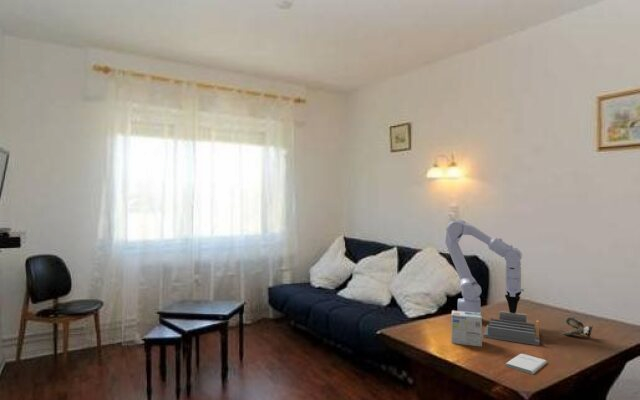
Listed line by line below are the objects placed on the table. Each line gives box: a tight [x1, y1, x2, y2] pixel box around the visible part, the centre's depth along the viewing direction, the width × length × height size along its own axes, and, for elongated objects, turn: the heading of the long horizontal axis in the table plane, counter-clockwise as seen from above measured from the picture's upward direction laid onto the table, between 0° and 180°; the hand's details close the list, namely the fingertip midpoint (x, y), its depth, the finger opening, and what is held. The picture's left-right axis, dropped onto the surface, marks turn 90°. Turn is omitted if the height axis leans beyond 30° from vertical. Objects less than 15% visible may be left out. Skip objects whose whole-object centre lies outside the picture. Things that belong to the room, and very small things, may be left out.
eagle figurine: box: [564, 317, 594, 339], centre depth 158 cm, size 8×7×9 cm
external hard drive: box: [504, 353, 547, 375], centre depth 131 cm, size 2×8×12 cm
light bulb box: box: [450, 309, 483, 347], centre depth 151 cm, size 11×7×11 cm, turn 71°
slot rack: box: [482, 317, 540, 346], centre depth 158 cm, size 19×14×7 cm
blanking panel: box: [499, 310, 527, 323], centre depth 169 cm, size 10×2×6 cm, turn 62°
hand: (513, 310), depth 169 cm, fingers open, 7 cm apart
